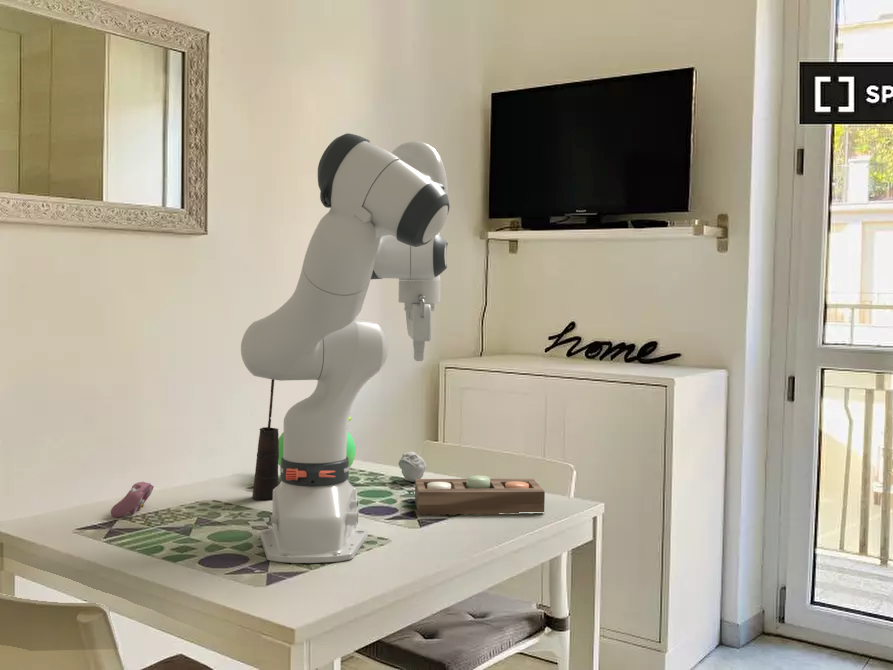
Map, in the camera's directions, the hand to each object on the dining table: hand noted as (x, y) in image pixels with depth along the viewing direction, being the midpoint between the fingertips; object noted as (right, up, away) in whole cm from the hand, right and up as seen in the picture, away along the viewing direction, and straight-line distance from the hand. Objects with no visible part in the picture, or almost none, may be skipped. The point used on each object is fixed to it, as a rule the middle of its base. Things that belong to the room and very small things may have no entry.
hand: (418, 360), depth 190 cm
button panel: (+12, -30, -6) cm, 33 cm away
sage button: (+12, -26, -6) cm, 30 cm away
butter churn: (-32, -29, -3) cm, 43 cm away
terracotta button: (+20, -28, -6) cm, 35 cm away
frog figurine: (-2, -29, +16) cm, 33 cm away
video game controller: (-55, -29, -15) cm, 64 cm away
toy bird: (-24, -28, +16) cm, 40 cm away
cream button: (+4, -27, -7) cm, 29 cm away
